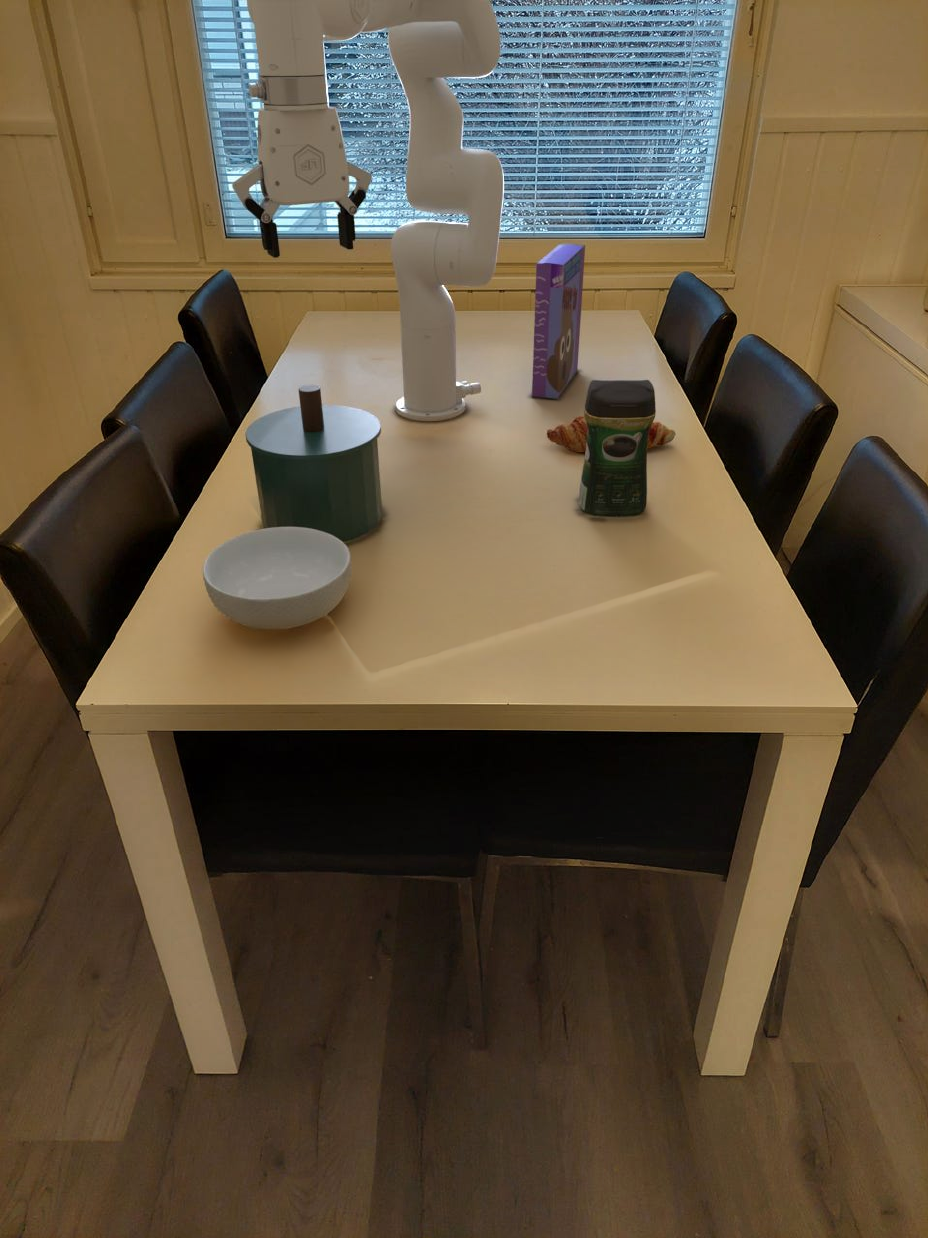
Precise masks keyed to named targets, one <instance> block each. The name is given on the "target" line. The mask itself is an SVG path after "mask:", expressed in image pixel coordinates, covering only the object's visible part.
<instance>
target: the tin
mask: <svg viewBox="0 0 928 1238" xmlns="http://www.w3.org/2000/svg"><path fill="white" fill-rule="evenodd" d="M250 450H251V456H252V463H253V470H254V476H255V484H256V489H257V494H258V497H257V498H258V502H259V509H260V515H261V522H262V526H263V529H266V528H274V527H302V528H310V529H315V530H319V531H322V532H325V533H328V534H331V535H333V536H335V537H336V538H338V539H339V540H341V541H342V542H343V543H344V542H348V541H353V540H355V539H358V538H360V537H361V536H364V535H366V534H369V532H371V531H372V530H374V529H375V528H376V527H377V526H378V525H379V524H380V521H381V520H382V517H383V505H382V489H381V488H382V487H381V475H380V460H379V444H378V438H377V439H376V440H375V441H374V442H373V443H372V444H370V445H368V446H367V447H365V448H363V449H360V450H358V451H355V452H352V453H349V454H345V455H341V456H337V457H331V458H324V459H312V460H294V459H283V458H276V457H272V456H268V455H265V454H262V453H259V452H257V451H255V450H254V449H252V448H251V447H250Z"/></svg>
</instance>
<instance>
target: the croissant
mask: <svg viewBox="0 0 928 1238" xmlns="http://www.w3.org/2000/svg"><path fill="white" fill-rule="evenodd" d="M676 435H677V433H676V431H675V430H674V429H670V428H669V427H667V426H666V425H665V424H663V423H662V422H660V421H655V422H653V423H652V425H651V426H650V429H649V433H648V442H647V450H649V449H651V448H654V447H655V446H659V447H662V446H664V445H667V444H670V443H671V442H673V440H674V439H675V437H676ZM546 438H547V439H548V440H549V441H550V442H551V443H554V444H556V445H559V446H562V447H564V448H567V450H570V451H573V452H577V453H586V444H587V423H586V420H585V417H584V415H580V416H576V417H575V418H574V419H573V420H572V421H571V423H569V424H568V423H561V424H559V425H557V426H556V427H554V428H553V429H551V428H549V429H547V430H546Z"/></svg>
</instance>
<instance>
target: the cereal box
mask: <svg viewBox="0 0 928 1238" xmlns="http://www.w3.org/2000/svg"><path fill="white" fill-rule="evenodd" d="M585 253H586V244H580V243H573V242H570V243H559V244H558V245H556V247H555V248H553V249H552V250H551V251H549V252H548V253H547V254H546V255H545V256H544V257H543V258H542V259H540V260H539V261H537V262H536V265H535V266H536V267H535V269H536V270H535V295H534V296H535V297H534V326H533V355H532V380H531V381H532V384H531V398H535V399H537V398H538V399H546V400H555V401H557V400H558V399H559V397H560V396H561V395H562V394H563V392H564V390H565V389H566V388H567V386H568V385H569V383H570V382H571V381H572V379H573V378H574V376H575V375H576V374H577V372H578V368H579V367H578V366H579V353H580V352H579V351H580V350H579V349H580V335H581V318H582V305H583V304H582V303H583V289H584V274H585V273H584V272H585V255H586V254H585Z"/></svg>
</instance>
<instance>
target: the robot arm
mask: <svg viewBox="0 0 928 1238" xmlns="http://www.w3.org/2000/svg"><path fill="white" fill-rule="evenodd" d="M246 6H247V11H248V14H249V18H250V20H251V22H252V24H253V27H254V28H253V29H254V35H255V37H254V38H255V45H256V54H257V61H258V70H259V76H258V81H257V82H255V83H249V85H248V91H249V96H250V98H252V99H256V98H257V100H259V101H260V102H261V104H262V105H263V108H258V113H257V163H258V164H257V165H256V166H254V167H253V168H252V169H250V170H249V171H246V173H245V174H243V175H242V176H240V177H239V178H237V179H236V180H234V181H233V182H232V184H231V188H232V189H233V191H234V193H235V194H236V196H237V198H238V199H239V201H240V202H241V203H242V206H243V207H244V208H245V209H246V210H247V211H248V212H249V213H250V214H251V215H253V216H254V217H255V218H256V219H257V220H258V221H259V229H260V236H261V244H262V249H263V250H264V251H266V252H267V255H269V256H270V257H272V258H274V259H277V258H279V257H280V256H281V253H280V252H281V251H280V243H279V235H278V227H277V223H276V222H274V216H275V215H276V213H277V211H278V209H279V207H280V206H298V205H300V206H301V205H310V204H311V205H312V204H322V203H333V202H334V203H335V204H336V205H337V206H338V208H339V211H338V212H337V215H336V216H337V228H338V229H337V230H338V240H339V241H338V242H339V245H340V247H343V248H345V249H347V250H349V251H351V250H354V242H355V241H356V225H355V222H356V221H355V215H357V213H358V209H359V208H360V206H361V205H362V204H363V202H364V201H365V199H366V198H367V192H368V190H369V187H370V185H371V182H372V178H373V176H372V174H371V173H370V172H368V171H367V170H364V169H363V168H360V167H359V166H357V165H355V164H352V163H351V162H349V161H348V160H347V154H346V148H345V147H346V146H345V141H344V135H343V131H342V126H341V122H340V117H339V113H338V109H337V107H336V106H330V104H329V93H328V91H329V90H328V80H327V67H326V66H327V65H326V55H325V54H326V53H325V42H343V41H349V40H351V39H354V38H355V37H358V36H359V35H360V34H365V33H366V34H367V33H377V32H380V31H384V30H387V45H388V51H389V55H390V56H389V57H390V58H391V62H392V64H393V67H394V69H395V71H396V73H397V76H398V79H399V81H400V83H401V86H402V88H403V89H402V90H403V92H404V94H405V97H406V101H407V104H408V105H407V106H408V110H409V131H408V132H409V133H408V143H407V144H408V146H407V156H406V157H407V159H406V173H405V194H406V199H407V202H408V204H409V205H410V206H411V207H412V208H413V209H415V210H417V211H419V212H425V213H433V214H444V215H445V214H447V215H463V216H465V215H466V216H467V217H468V223H464V222H448V221H436V220H412V221H408V222H405V223H403V224H401V225H400V226H399V227H398V228H396V230H395V231H394V233H393V235H392V237H391V242H390V256H391V263H392V267H393V271H394V276H395V282H396V286H397V287H396V288H397V293H398V304H399V321H400V322H399V323H400V324H399V325H400V342H401V343H400V344H401V346H400V347H401V364H402V365H401V366H402V385H403V388H402V389H403V396H402V397H401V398H399V399H398V400H396V402H395V411H396V413H397V414H398V415H399V416H400V417H403V418H406V419H408V420H413V421H419V422H440V421H446V420H450V419H454V418H457V417H459V416H460V415H462V414H463V413H464V412H465V410H466V401H465V399H464V398H466V397H467V396H469V395H471V396H472V395H476V394H477V395H478V394H480V393H481V392H482V386H481V383H480V382H475V383H468V381H467V380H466V381H460V382H459V381H457V328H456V319H457V318H456V317H457V315H456V308H455V305H454V302H453V300H452V297H451V296H450V294H449V291H448V290H447V289H446V287H445V286H451V287H453V286H454V287H462V288H463V287H466V288H480V287H481V288H482V287H484V286H487V285H488V284H489V283H490V282H491V281H492V279H493V277H494V275H495V271H496V267H497V261H498V260H497V259H498V252H499V242H500V232H501V223H502V216H503V215H502V214H503V204H504V193H505V178H504V169H503V166H502V162H501V160H500V158H499V157H498V155H497V154H495V153H494V152H492V151H491V150H488V149H484V148H467V147H465V148H464V147H463V134H464V133H463V132H464V122H465V121H464V119H465V118H464V113H463V109H462V106H461V104H460V102H459V100H458V98H457V97H456V95H455V93H454V92H453V90H452V89H451V87H450V86H449V85H448V83H447V82H446V80H445V79H482V78H486V77H488V76H489V75H490V74H492V73H493V72H494V71H495V69H497V66H498V63H499V60H500V55H501V47H502V46H501V34H500V27H499V25H498V20H497V17H496V15H495V12H494V9H493V6H492V3H491V0H246ZM350 176H351V177H352V178H354V179H355V180H356V183H355V187H354V189H353V190H352V191H351V193H350ZM258 183H259V184H260V186H259V187H260V190H261V191H260V192H261V194H262V196H263V198H262V200H261V201H260V202H259V203H260V204H259V203H258V202H257V201H255V200H254V198H253V197H252V195H251V193H250V189H251V187H253V186H255V185H256V184H258Z"/></svg>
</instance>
